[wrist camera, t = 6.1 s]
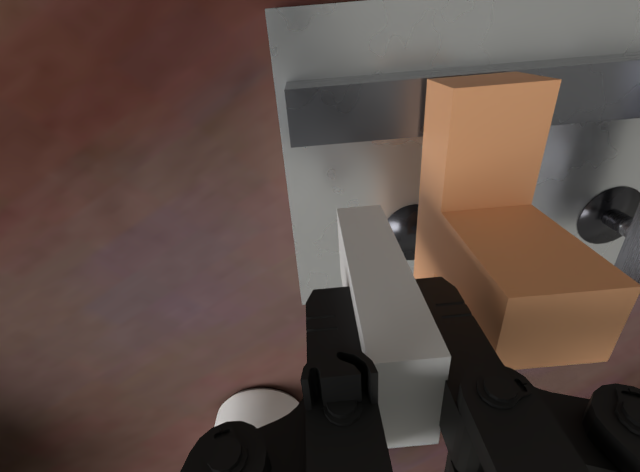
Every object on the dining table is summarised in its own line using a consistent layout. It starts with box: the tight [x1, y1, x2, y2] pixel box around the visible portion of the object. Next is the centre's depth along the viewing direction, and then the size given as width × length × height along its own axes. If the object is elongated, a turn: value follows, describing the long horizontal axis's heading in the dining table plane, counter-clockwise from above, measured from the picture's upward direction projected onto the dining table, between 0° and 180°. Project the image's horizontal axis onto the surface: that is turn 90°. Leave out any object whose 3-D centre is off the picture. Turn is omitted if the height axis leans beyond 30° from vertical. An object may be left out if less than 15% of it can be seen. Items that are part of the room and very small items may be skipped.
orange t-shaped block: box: [413, 72, 640, 370], centre depth 12 cm, size 9×3×9 cm, turn 4°
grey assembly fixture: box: [265, 0, 640, 305], centre depth 13 cm, size 14×20×10 cm
